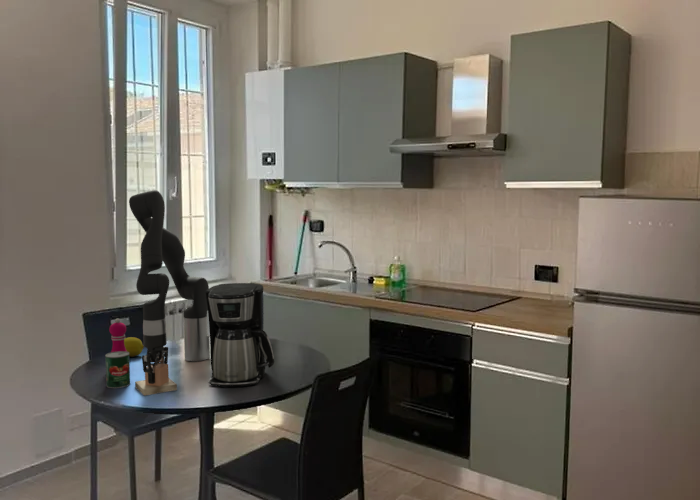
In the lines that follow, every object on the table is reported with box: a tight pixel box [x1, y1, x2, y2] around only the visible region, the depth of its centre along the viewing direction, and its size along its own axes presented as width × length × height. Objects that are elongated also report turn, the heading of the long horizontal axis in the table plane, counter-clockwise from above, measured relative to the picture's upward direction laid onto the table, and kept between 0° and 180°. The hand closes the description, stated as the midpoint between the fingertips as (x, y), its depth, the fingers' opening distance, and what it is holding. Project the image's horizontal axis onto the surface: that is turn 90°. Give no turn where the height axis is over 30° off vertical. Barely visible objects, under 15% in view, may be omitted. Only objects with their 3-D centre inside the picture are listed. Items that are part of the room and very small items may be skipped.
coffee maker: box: [206, 282, 275, 388], centre depth 229 cm, size 23×32×34 cm
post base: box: [134, 377, 178, 397], centre depth 215 cm, size 11×11×7 cm
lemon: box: [124, 336, 145, 358], centre depth 257 cm, size 11×8×8 cm
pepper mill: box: [108, 318, 127, 353], centre depth 236 cm, size 7×7×20 cm
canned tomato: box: [104, 351, 131, 389], centre depth 219 cm, size 8×8×11 cm
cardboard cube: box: [144, 362, 170, 386], centre depth 214 cm, size 6×6×6 cm
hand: (156, 380), depth 215 cm, fingers closed on cardboard cube, 5 cm apart
